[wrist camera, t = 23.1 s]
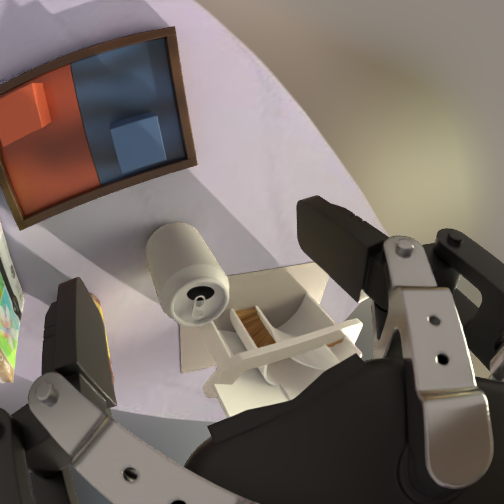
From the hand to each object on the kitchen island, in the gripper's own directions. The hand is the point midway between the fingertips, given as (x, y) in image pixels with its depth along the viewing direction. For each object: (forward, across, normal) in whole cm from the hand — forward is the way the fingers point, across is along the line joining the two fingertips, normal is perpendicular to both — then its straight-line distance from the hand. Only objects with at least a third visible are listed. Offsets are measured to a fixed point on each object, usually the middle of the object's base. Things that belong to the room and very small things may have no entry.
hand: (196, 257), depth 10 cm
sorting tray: (+25, +5, -3) cm, 26 cm away
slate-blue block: (+24, 0, 0) cm, 24 cm away
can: (+25, -1, +15) cm, 29 cm away
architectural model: (+25, -11, +35) cm, 45 cm away
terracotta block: (+24, +10, -7) cm, 27 cm away
